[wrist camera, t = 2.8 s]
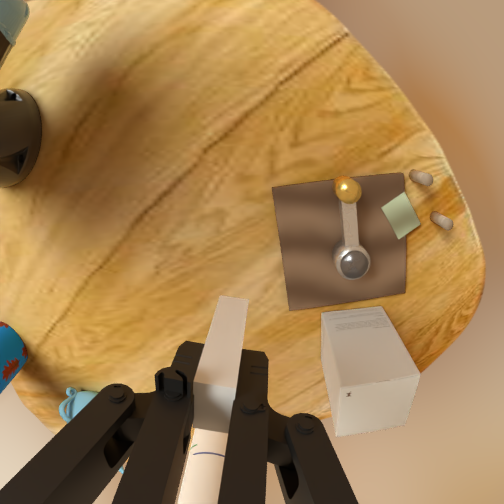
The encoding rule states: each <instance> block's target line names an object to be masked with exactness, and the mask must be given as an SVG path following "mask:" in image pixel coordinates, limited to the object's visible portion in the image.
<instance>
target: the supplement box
mask: <svg viewBox="0 0 504 504" xmlns="http://www.w3.org/2000/svg"><path fill="white" fill-rule="evenodd" d="M321 362H322V367H323V372H324V377H325V382H326V387H327V392H328V397H329V402H330V408H331V413H332V419H333V424H334V430H335V435H336V437H341V436H349V435H355V434H362V433H368V432H374V431H379V430H384V429H390V428H395V427H400V426H405V424H406V421H407V418H408V415H409V412H410V409H411V405H412V402H413V399H414V396H415V393H416V390H417V387H418V383H419V379H420V376H421V373H420V372H419V370H418V368H417V367H416V365H415V363H414V361H413V359H412V358H411V356H410V354H409V352H408V350H407V349H406V347H405V345H404V343H403V342H402V340H401V338H400V336H399V335H398V333H397V331H396V329H395V328H394V326H393V324H392V322H391V321H390V319H389V317H388V316H387V314H386V312H385V310H384V309H383V307H382V306H377V307H368V308H359V309H350V310H340V311H330V312H322V313H321Z"/></svg>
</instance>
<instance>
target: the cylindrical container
mask: <svg viewBox="0 0 504 504" xmlns="http://www.w3.org/2000/svg"><path fill="white" fill-rule="evenodd" d="M227 438H228V433H222V432H215V431H209V430H203V429H198V428H195V431H194V435H193V440H192V444H191V448H190V452H189V457H188V461H187V465H186V469H185V473H184V478H183V482H182V487H181V491H180V495H179V499H178V503H177V504H217V503H218V497H219V490H220V484H221V477H222V471H223V464H224V458H225V451H226V445H227Z"/></svg>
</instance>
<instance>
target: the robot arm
mask: <svg viewBox="0 0 504 504" xmlns="http://www.w3.org/2000/svg"><path fill="white" fill-rule="evenodd" d="M28 17H29V6H28V4H27V3H26V2H25V1H23V0H0V69H1V67H2V65H3V63H4V62H5V60H6V58H7V56H8V54H9V52H10V51H11V49H12V47H13V46H15V44H16V39H17V37H18V35H19V34H20V32H21V30H22V28H23V26H24V25H25V23H26V21H27V19H28ZM41 132H42V130H41V118H40V113H39V110H38V107H37V105H36V103H35V101H34V99H33V98H32V97H31V96H30V95H29V94H28V93H27V92H25V91H23V90H20V89H2V90H0V188H5V187H8V186H12V185H15V184H17V183H19V182H21V181H22V180H23V179H24V178H25V177H26V176H27V175H28V174H29V173H30V171H31V169H32V168H33V166H34V164H35V162H36V159H37V156H38V153H39V149H40V144H41ZM248 303H249V299H243V298H236V297H229V296H222V295H220V297H219V300H218V303H217V307H216V310H215V313H214V316H213V319H212V323H211V326H210V329H209V332H208V335H207V339H206V342H205V344H202V343H196V342H190V341H185V342H184V343H183V344H181V345H180V346H179V348H178V350H177V352H176V356H175V357H174V360H173V362H172V365H171V367H167V368H163V369H161V370H159V371H158V372H157V373H156V374H155V385H156V391H153V392H150V393H134V392H133V391H132V389H131V388H130V387H128V386H127V385H124V384H111V385H108V386H106V387H105V388H103V389H102V390H101V391H100V392H99V393H98V394H97V395H96V396H95V397H94V398H93V399H92V400H91V401H90V402H89V403H88V404H87V405H86V406H85V407H84V408H83V409H82V410H81V411H80V412H79V413H78V414H77V415H76V416H75V417H74V418H73V419H72V420H71V421H70V422H69V423H68V424H67V425H66V426H64V427H63V428H62V429H61V430H60V431H59V432H58V433H57V434H56V435H55V436H54V438H52V440H50V442H48V443H47V444H46V445H45V446H44V447H43V448H42V449H41V450H40V451H39V452H38V453H37V454H36V455H35V456H34V457H33V458H32V459H31V460H30V461H29V462H28V463H27V464H26V465H25V466H24V467H23V468H22V469H21V470H20V471H19V472H18V473H17V474H16V475H15V476H14V477H13V478H12V479H11V480H10V481H9V482H8V483H7V484H6V485H5V486H4V487H3V488H2V489H1V490H0V504H92V503H93V502H94V501H95V500H96V498H97V497H98V496H99V495H100V493H101V492H102V490H104V488H105V487H106V486H107V484H108V483H109V482H110V481H111V479H112V478H113V477H114V476H115V474H116V473H117V472H118V470H119V469H120V468H121V467H122V465H123V464H124V463H125V461H126V460H127V459H128V458H129V459H128V462H127V465H126V467H125V470H124V472H123V475H122V478H121V481H120V483H119V486H118V488H117V491H116V494H115V496H114V499H113V502H112V504H175V499H176V495H177V491H178V487H179V483H180V479H181V475H182V471H183V467H184V462H185V459H186V454H187V451H188V447H189V443H190V439H191V427H192V424H193V428H198V429H203V430H209V431H215V432H222V433H228V438H227V445H226V451H225V458H224V464H223V471H222V477H221V484H220V490H219V497H218V503H217V504H265V496H266V474H267V462H270V463H273V464H274V466H275V469H276V473H277V476H278V480H279V483H280V486H281V490H282V493H283V496H284V500H285V503H286V504H358V502H357V500H356V497H355V495H354V493H353V490H352V488H351V486H350V484H349V481H348V479H347V477H346V475H345V473H344V471H343V468H342V466H341V464H340V461H339V459H338V457H337V455H336V453H335V450H334V448H333V446H332V444H331V441H330V440H329V437H328V435H327V433H326V430H325V428H324V426H323V424H322V422H321V421H320V420H319V419H318V418H317V417H315V416H314V415H311V414H308V413H299V414H295V415H293V416H292V417H291V418H290V417H287V416H284V415H281V414H279V413H277V412H275V411H274V410H273V409H272V408H271V407H270V406H269V404H268V400H267V394H268V361H269V360H268V358H267V356H266V354H265V353H264V352H261V351H253V350H246V349H242V345H243V338H244V331H245V324H246V317H247V310H248ZM129 456H130V457H129Z"/></svg>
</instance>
